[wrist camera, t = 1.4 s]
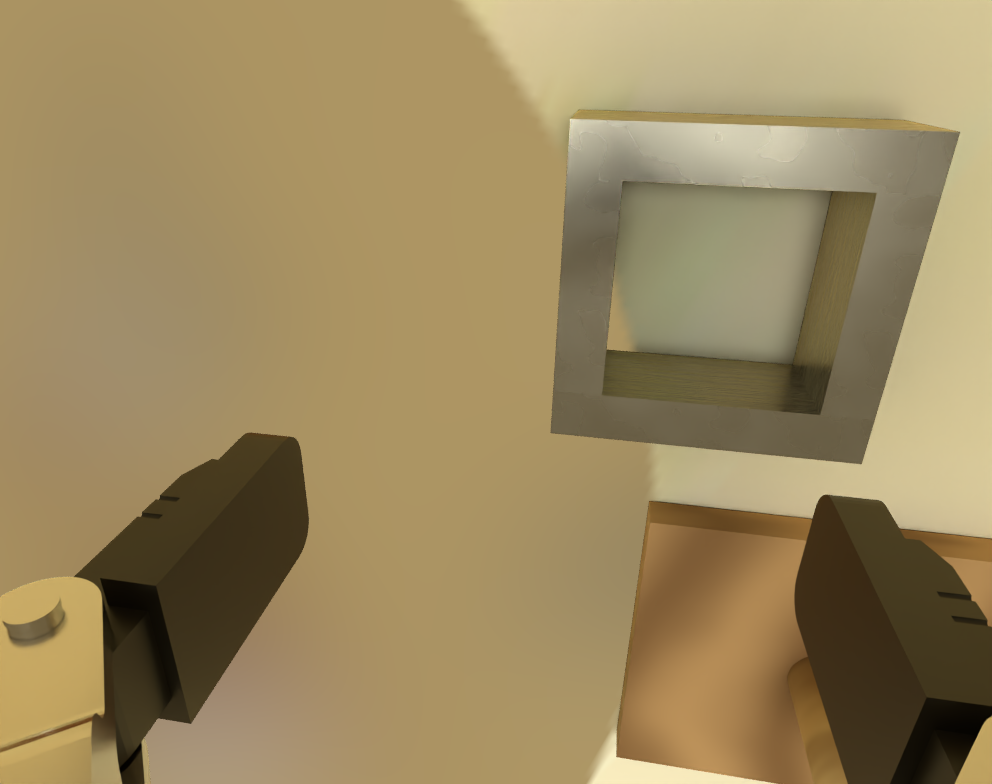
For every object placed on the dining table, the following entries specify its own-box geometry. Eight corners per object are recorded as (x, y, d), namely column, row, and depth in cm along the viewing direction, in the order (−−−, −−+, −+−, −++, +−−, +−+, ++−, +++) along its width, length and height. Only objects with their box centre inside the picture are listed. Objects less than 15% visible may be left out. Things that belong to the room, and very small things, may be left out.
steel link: (903, 120, 21) (959, 132, 18) (828, 407, 26) (861, 464, 22) (579, 109, 23) (570, 119, 19) (560, 384, 27) (550, 432, 23)
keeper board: (1073, 548, 26) (1308, 804, 17) (958, 784, 32) (1087, 1065, 23) (649, 500, 29) (659, 705, 20) (616, 730, 35) (613, 966, 26)
